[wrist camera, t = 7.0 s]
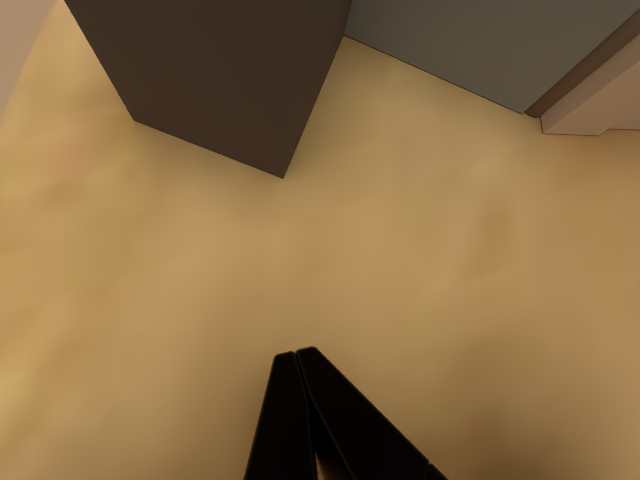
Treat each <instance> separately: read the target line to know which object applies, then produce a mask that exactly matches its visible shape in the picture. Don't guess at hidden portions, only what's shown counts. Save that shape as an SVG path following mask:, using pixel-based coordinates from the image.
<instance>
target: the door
mask: <svg viewBox="0 0 640 480" xmlns="http://www.w3.org/2000/svg"><path fill="white" fill-rule="evenodd" d="M639 34H640V0H352V3H351V7H350V11H349V15H348V19H347V23H346V27H345V31H344V35H347V36H349V37H351V38H353V39H355V40H358V41H360V42H362V43H364V44H367V45H369V46H371V47H373V48H376V49H378V50H380V51H382V52H384V53H387V54H389V55H391V56H393V57H396V58H398V59H400V60H402V61H405V62H407V63H409V64H411V65H413V66H416V67H418V68H420V69H422V70H425V71H427V72H429V73H431V74H434V75H436V76H438V77H440V78H442V79H445V80H447V81H449V82H451V83H454V84H456V85H458V86H460V87H463V88H465V89H467V90H469V91H471V92H474V93H476V94H478V95H480V96H483V97H485V98H487V99H489V100H492V101H494V102H496V103H498V104H500V105H503V106H505V107H507V108H509V109H512V110H514V111H516V112H518V113H521V114H522V113H523V112H524V111H525V112H526V113H527V114H528V115H530V116H532V117H539V116H541V115H542V114H543V113H545V112H546V111H547V110H548V109H549V108H551V107H552V106H553V105H554V104H555V103H557V102H558V101H559V100H560V99H561V98H563V97H564V96H565V95H566V94H567V93H569V92H570V91H571V90H572V89H574V88H575V87H576V86H577V85H578V84H580V83H581V82H582V81H583V80H584V79H586V78H587V77H588V76H589V75H590V74H592V73H593V72H594V71H595V70H596V69H598V68H599V67H600V66H601V65H602V64H604V63H605V62H606V61H607V60H608V59H610V58H611V57H612V56H613V55H614V54H616V53H617V52H618V51H619V50H620V49H622V48H623V47H624V46H625V45H626V44H628V43H629V42H630V41H631V40H632V39H634V38H635V37H636V36H637V35H639Z"/></svg>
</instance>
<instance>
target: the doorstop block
mask: <svg viewBox="0 0 640 480" xmlns="http://www.w3.org/2000/svg"><path fill="white" fill-rule="evenodd" d="M64 1H65V3H66V4H67V6H68V8H69V9H70V11H71V13H72V15H73V16H74V18H75V20H76V21H77V23H78V25H79V27H80V28H81V30H82V32H83V34H84V35H85V37H86V39H87V40H88V42H89V44H90V46H91V47H92V49H93V51H94V53H95V54H96V56H97V58H98V59H99V61H100V63H101V65H102V66H103V68H104V70H105V72H106V73H107V75H108V77H109V78H110V80H111V82H112V84H113V85H114V87H115V89H116V91H117V92H118V94H119V96H120V97H121V99H122V101H123V103H124V104H125V106H126V108H127V110H128V111H129V113H130V115H131V116H132V118H133V120H134V121H136V122H139V123H142V124H144V125H147V126H149V127H152V128H154V129H157V130H160V131H162V132H165V133H167V134H170V135H172V136H175V137H177V138H180V139H183V140H185V141H188V142H190V143H193V144H195V145H198V146H200V147H203V148H206V149H208V150H211V151H213V152H216V153H218V154H221V155H223V156H226V157H229V158H231V159H234V160H236V161H239V162H241V163H244V164H246V165H249V166H252V167H254V168H257V169H259V170H262V171H264V172H267V173H270V174H272V175H275V176H277V177H280V178H282V179H283V178H284V176H285V173H286V171H287V169H288V166H289V164H290V161H291V159H292V157H293V154H294V152H295V150H296V147H297V145H298V142H299V140H300V138H301V135H302V133H303V130H304V128H305V126H306V123H307V121H308V118H309V116H310V114H311V111H312V109H313V107H314V104H315V102H316V99H317V97H318V95H319V92H320V90H321V87H322V85H323V83H324V80H325V78H326V75H327V73H328V71H329V68H330V66H331V64H332V61H333V59H334V56H335V54H336V52H337V49H338V47H339V44H340V42H341V40H342V37H343V35H344V31H345V27H346V23H347V19H348V15H349V11H350V7H351V3H352V0H64Z"/></svg>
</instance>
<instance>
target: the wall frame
mask: <svg viewBox="0 0 640 480" xmlns="http://www.w3.org/2000/svg"><path fill="white" fill-rule="evenodd" d="M541 121H542V128H543V133H546V134H572V135H599V134H601V133H602V132H604V131H605V130H607V129H630V130H640V34H639V35H637V36H636V37H635V38H634V39H632V40H631V41H630V42H629V43H628V44H626V45H625V46H624V47H623V48H622V49H620V50H619V51H618V52H617V53H616V54H614V55H613V56H612V57H611V58H610V59H608V60H607V61H606V62H605V63H604V64H602V65H601V66H600V67H599V68H598V69H596V70H595V71H594V72H593V73H592V74H590V75H589V76H588V77H587V78H586V79H584V80H583V81H582V82H581V83H580V84H578V85H577V86H576V87H575V88H574V89H572V90H571V91H570V92H569V93H567V94H566V95H565V96H564V97H563V98H561V99H560V100H559V101H558V102H557V103H555V104H554V105H553V106H552V107H551V108H549V109H548V110H547V111H546V112H545V113H543V114H542V115H541Z"/></svg>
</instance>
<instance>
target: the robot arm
mask: <svg viewBox="0 0 640 480" xmlns="http://www.w3.org/2000/svg"><path fill="white" fill-rule="evenodd" d="M315 454H316V456H315ZM316 458H317V461H318V464H319V467H320V470H321V473H322V476H323V479H324V480H448V479H447V478H446V477H445V476H444V475H443V474H442V473H441V472H440V471H439V470H438V469H437V468H436V467H435V466H434V465H433V464H429V460H428V459H427V458H426V457H425V456H424V455H423V454H422V453H421V452H420V451H419V450H418V449H417V448H416V447H415V446H414V445H413V444H412V443H411V442H410V441H409V440H408V439H407V438H406V437H405V436H404V435H403V434H402V433H401V432H400V431H399V430H398V429H397V428H396V427H395V426H394V425H393V424H392V423H391V422H390V421H389V420H388V419H387V418H386V417H385V416H384V415H383V414H382V413H381V412H380V411H379V410H378V409H377V408H376V407H375V406H374V405H373V404H372V403H371V402H370V401H369V400H368V399H367V398H366V397H365V396H364V395H363V394H362V393H361V392H360V391H359V390H358V389H357V388H356V387H355V386H354V385H353V384H352V383H351V382H350V381H349V380H348V379H347V378H346V377H345V376H344V375H343V374H342V373H341V372H340V371H339V370H338V369H337V368H336V367H335V366H334V365H333V364H332V363H331V362H330V361H329V360H328V359H327V358H326V357H325V356H324V355H323V354H322V353H321V352H320V351H319V350H318V349H317V348H316V347H314V346H311V347H306V348H302V349H298V350H297V351H296V352H293V351H289V352H284V353H280V354H277V355H275V357H274V359H273V363H272V367H271V371H270V375H269V379H268V383H267V387H266V391H265V395H264V399H263V403H262V407H261V411H260V415H259V419H258V423H257V427H256V431H255V435H254V439H253V443H252V447H251V451H250V455H249V459H248V463H247V467H246V471H245V474H244V478H243V480H318V472H317V464H316Z"/></svg>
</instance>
